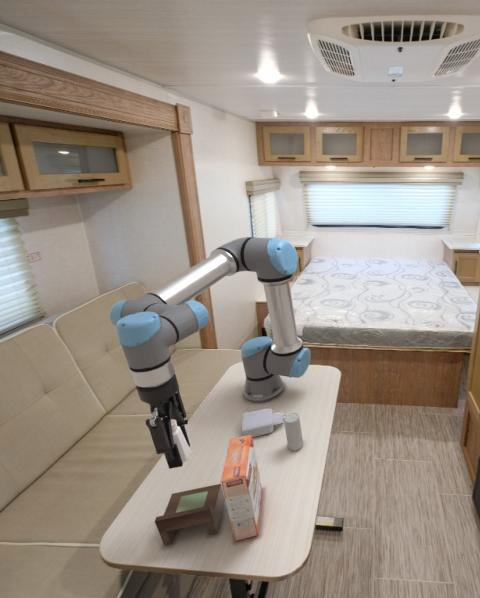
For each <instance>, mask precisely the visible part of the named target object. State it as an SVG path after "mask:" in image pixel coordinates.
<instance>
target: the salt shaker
mask: <svg viewBox="0 0 480 598" xmlns="http://www.w3.org/2000/svg"><path fill="white" fill-rule="evenodd" d="M171 426H172V433H173V440H174V444H177V447H178V450H179V453H180V457H181V460H182V463H183V464H184V463H186V462H188V461H189V459H190V458H191V457H192V455H193V452H192V450H191V448H190V447H189V446H188V444H187V441H186V439H185V437H184V435H183V433H182V431H181V428H180V427H179V426H177V422H176V420H174V419H171Z"/></svg>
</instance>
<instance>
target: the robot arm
mask: <svg viewBox="0 0 480 598" xmlns="http://www.w3.org/2000/svg"><path fill="white" fill-rule="evenodd" d="M298 263H299V257H298V252H297V250H296V247H295V246H294V245H293V244H292V243H291V242H290V241H288V240H286V239H282V238H278V237H277V238H276V237H274V238H273V237H253V236H244V237H240V238H236V239H233V240H231V241H229V242H226V243H224V244H222V245H220V246H218V247H216V248H215V249H213V250H212V251H211V252H210V253H209V256H208V257H206V258H204V259H203V260H201V261H199V262H198V263H196V264H194V265H193V266H191V267H189V268H187V269H186V270H184V271H182V272H181V273H179V274H178V275H176V276H174V277H173V278H171V279H169V280H167V281H166V282H164V283H162V284H160V285H159V286H157V287H156V288H154V289H152V290H150V291H149V292H147V293H145V294H144V295H142V296H139V297H138V298H136V299H122V300H119V301H117V302H115V303H114V305H112V306H111V308H110V311H109V320H110V321H111V323H112V324H113V326H115V327H116V332H117V336H118V342H119V344H120V346H121V348H122V351H123V353H124V357H125V359H126V362H127V365H128V368H129V373H130V374H131V377H132V379H133V382H134V384H135V388H136V391H137V395H138V398H139V399H140V401H141V402H143V403H145V404H148V405H149V408H150V409H149V411H150V414H151V417H150V418H148V419H146V420H145V426H146V427H147V428H148V430H149V433H150V437H151V439H152V443H153V445H154V449H155V452H156V454H157V455H162V454H163V455H164V457H165V460H166V463H167V466H168V469H177V468H180V467H181V468H182V467H183V464H184V463H182V460H181V457H180V453H179V450H178V447H177V444H174V440H173V433H172V426H171V419H174V420H176V422H177V426H179V427H180V428H181V431H182V433H183V435H184V437H185V439H186V441H187V444H188V446H189V448H190V447H191V442H190V440H189V436H188V432H187V429H186V427H185V425H188V424H189V419H186V418H187V412H186V409H185V406H184V402H183V398H182V396H181V393H180V385H179V381H178V378H177V375H176V371H175V367H174V363H173V361H172V357H171V354H170V348H171V347H172V346H173V345H176V344H178V343H179V342H181V341H182V340H184V339H187V338H189V337H190V336H191V335H193V334H195V333H198V332H199V331H200V330H201V329H203V328H204V327H206V326H207V325H208V324H209V322H210V314H209V311H208V309H207V308H206V306H205V305H204V304H202V302H200V301H197V300H194V299H195V298H196V297H198V296H199V295H201V294H202V293H204V292H205V291H206V290H208V289H209V288H210V287H212V286H214V285H215V284H217V283H218V282H219V281H221V280H222V279H224V278H225V277H233V276H234V275H236V274H237V273H240V272H241V273H242V272H253V273H256V278H257V281H258V282H259V283H260V284H262V285H263V290H264V295H265V300H266V305H267V311H268V316H269V321H270V327H271V333H272V338H273V340H272V338H271V337H270V336H265V335H264V336H258V337H254V338H251V339H249V340H247V341H246V342H244V343H243V344H242V346H241V348H240V353H241V355H240V356H241V360H242V364H243V365H242V366H243V369H244V370H243V371H244V375H245V381H244V387H243V394H244V398H245V400H247V401H249V402H253V403H262V402H264V403H265V402H267V401H268V402H269V401H271V400H273V399H275V398H277V397H278V396H280V395H281V393H282V392H283V391H284V388H285V387H284V385H285V384H284V381H283V379H282V377H287V378H291V379H292V378H295V379H296V378H297V379H298V378H301V377H302V376H304V375H305V373H306V372H307V371H308V369H309V366H310V363H311V360H312V359H311V358H312V352H311V349H309V348H308V347H304V342H303V340H302V339H301V338H300V337H299V336H298V329H297V324H296V316H295V310H294V303H293V296H292V290H291V283H290V281H291V279H293V277H294V274H295V273H296V271H297V269H298ZM281 376H282V377H281Z"/></svg>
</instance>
